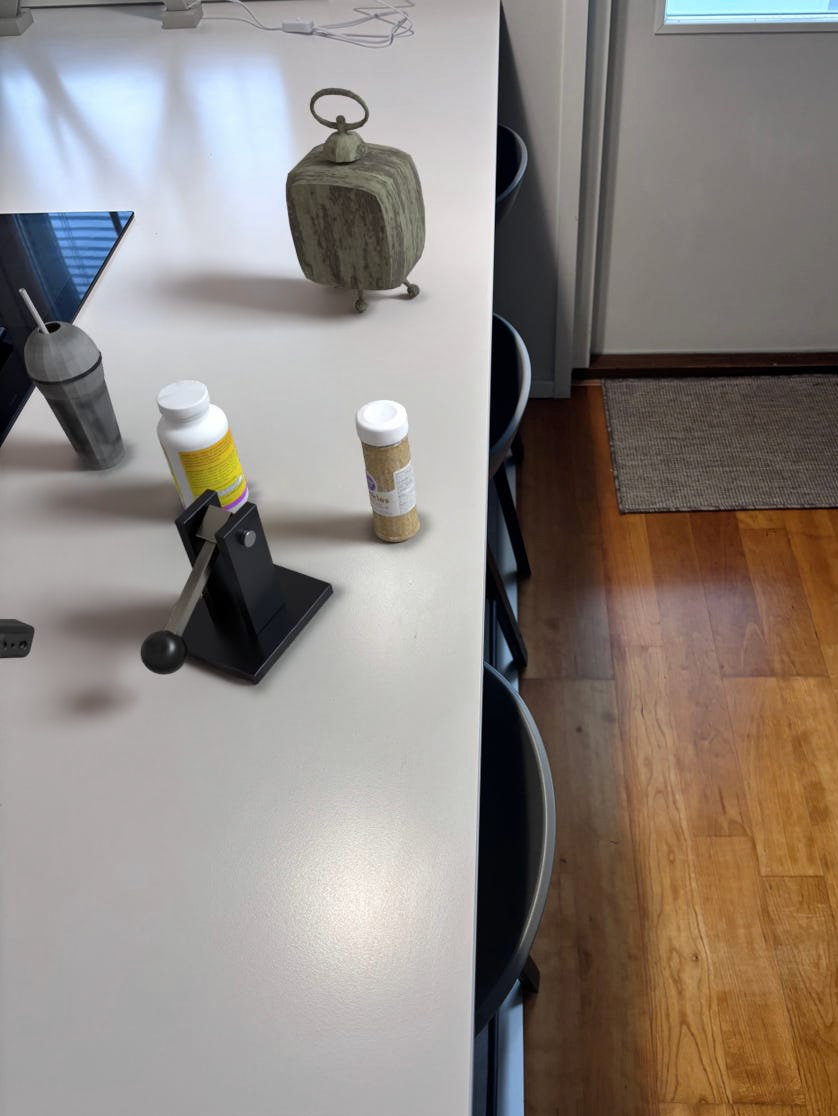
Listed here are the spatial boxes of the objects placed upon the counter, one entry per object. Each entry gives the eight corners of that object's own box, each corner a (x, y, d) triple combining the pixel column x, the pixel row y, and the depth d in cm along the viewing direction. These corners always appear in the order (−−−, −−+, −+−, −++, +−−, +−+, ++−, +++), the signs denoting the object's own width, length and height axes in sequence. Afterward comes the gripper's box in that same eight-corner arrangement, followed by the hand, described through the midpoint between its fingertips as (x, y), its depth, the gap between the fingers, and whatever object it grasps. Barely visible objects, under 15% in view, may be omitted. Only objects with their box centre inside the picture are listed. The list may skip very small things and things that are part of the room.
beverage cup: (152, 444, 107) (87, 271, 92) (109, 485, 102) (33, 310, 87) (99, 430, 109) (27, 258, 94) (55, 469, 105) (-28, 296, 90)
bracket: (257, 685, 83) (219, 578, 74) (165, 648, 87) (117, 541, 77) (333, 592, 90) (308, 483, 81) (245, 561, 94) (211, 453, 84)
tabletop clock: (432, 291, 125) (412, 77, 106) (408, 329, 120) (381, 110, 101) (329, 279, 129) (291, 70, 110) (300, 315, 123) (255, 101, 104)
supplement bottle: (263, 494, 100) (233, 386, 91) (217, 532, 97) (181, 424, 87) (216, 473, 103) (182, 366, 93) (170, 509, 99) (130, 401, 90)
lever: (184, 685, 80) (159, 675, 76) (150, 670, 81) (123, 660, 77) (256, 527, 82) (234, 511, 78) (221, 515, 83) (198, 499, 79)
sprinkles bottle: (364, 531, 96) (343, 416, 86) (397, 506, 98) (380, 391, 88) (398, 551, 93) (380, 435, 83) (431, 525, 96) (417, 409, 86)
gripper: (-147, 610, 46) (114, 613, 62) (-321, 533, 50) (-35, 555, 67) (-179, 760, 47) (86, 725, 63) (-347, 671, 51) (-59, 660, 67)
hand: (23, 638), depth 65 cm, fingers closed
